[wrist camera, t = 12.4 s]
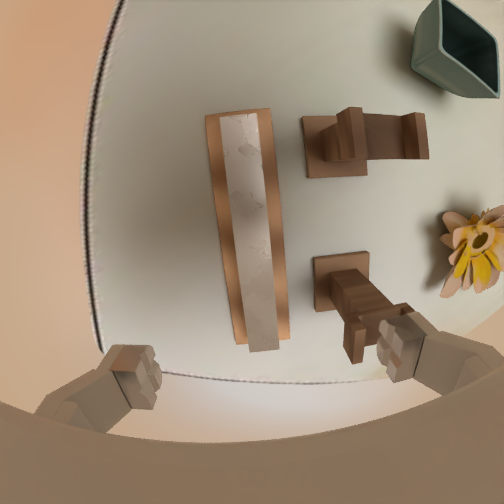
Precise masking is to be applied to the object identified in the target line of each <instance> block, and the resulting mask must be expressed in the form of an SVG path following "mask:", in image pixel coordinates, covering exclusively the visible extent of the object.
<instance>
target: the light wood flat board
mask: <svg viewBox="0 0 504 504" xmlns="http://www.w3.org/2000/svg"><path fill="white" fill-rule="evenodd" d="M253 113H257V122H258V130H259V139H260V148H261V156H262V166H263V175H264V184H265V194H266V203H267V213H268V223H269V233H270V244H271V254H272V265H273V276H274V288H275V300H276V311H277V324H278V336H279V340H286V339H290V326H289V309H288V293H287V279H286V265H285V252H284V240H283V228H282V216H281V205H280V195H279V185H278V175H277V165H276V156H275V147H274V138H273V130H272V121H271V113H270V108H264V109H253V110H243V111H234V112H226V113H219V114H212V115H205V121H206V130H207V139H208V148H209V157H210V166H211V174H212V182H213V190H214V198H215V205H216V213H217V220H218V228H219V235H220V242H221V249H222V256H223V263H224V269H225V276H226V283H227V289H228V295H229V302H230V308H231V314H232V320H233V326H234V332H235V338H236V344H237V345H239V344H248V337H247V330H246V323H245V316H244V309H243V302H242V295H241V287H240V280H239V272H238V265H237V257H236V250H235V242H234V234H233V227H232V219H231V211H230V203H229V194H228V186H227V178H226V169H225V161H224V152H223V143H222V135H221V126H220V117H226V116H234V115H243V114H253Z"/></svg>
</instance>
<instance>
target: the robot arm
mask: <svg viewBox="0 0 504 504" xmlns="http://www.w3.org/2000/svg"><path fill="white" fill-rule="evenodd" d="M379 331H380V333H381V334H382V335H381V336H380V338H379V339H378V340H377V347H376V348H377V356H378V359H379V361H380V362H381V364H382V365H385V366H387V370H386V372H387V374H388V375H389V377H390V379H391V380H392V382H393V383H396V382H400V381H403V380H407V379H410V378H413V377H414V379H415V380H417V381H418V382H420V383H422V384H424V385H425V386H427V387H429V388H431V389H432V390H434V391H436V392H437V393H439V394H441V395H443V396H441V397H439V398H437V399H434V400H432V401H429V402H427V403H424V404H422V405H419V406H416V407H414V408H411V409H408V410H405V411H402V412H399V413H396V414H393V415H390V416H387V417H383V418H380V419H377V420H373V421H369V422H366V423H362V424H358V425H354V426H350V427H345V428H341V429H336V430H331V431H326V432H321V433H316V434H310V435H304V436H297V437H291V438H282V439H273V440H262V441H248V442H228V443H227V442H225V443H196V442H194V443H193V442H173V441H159V440H150V439H141V438H133V437H126V436H120V435H114V434H107V433H106V432H107V431H109V430H110V429H111V428H112V427H113V426H114V425H115V424H116V423H117V422H118V421H120V420H121V419H122V418H123V417H124V416H125V415H126V414H127V413H129V412H130V411H131V409H146V410H152V409H153V407H154V404H155V401H156V398H157V396H156V394H155V392H156V391H157V390H158V389H160V386H161V383H162V373H161V369H160V366H159V364H158V363H157V362H156V361H155V360H154V357H155V352H154V349H153V347H152V346H150V345H125V344H115V345H112V346H111V348H110V349H109V351H108V352H107V354H106V356H105V357H104V359H103V360H102V362H101V363H100V365H99V366H98V368H97V369H96V370H95V369H93V370H91V371H89V372H87V373H86V374H84V375H82V376H80V377H78V378H77V379H75V380H73V381H71V382H70V383H68V384H66V385H64V386H62V387H60V388H59V389H57V390H55V391H53V392H51V393H50V394H48V395H46V397H45V398H44V400H43V401H42V403H41V404H40V406H39V407H38V409H37V410H36V411H35V413H34V414H31V413H29V412H26V411H23V410H21V409H18V408H16V407H13V406H11V405H8V404H6V403H3V402H1V401H0V504H504V357H503V356H502V355H501V354H500V353H499V352H498V351H497V350H496V349H495V348H494V347H493V346H490V345H486V344H483V343H480V342H477V341H473V340H470V339H467V338H463V337H460V336H457V335H454V334H450V333H447V332H444V331H441V332H439V331H438V330H437V329H436V328H435V327H434V326H433V325H432V324H431V323H430V322H429V321H428V320H426V319H425V318H424V317H423V316H422V315H421V314H420V313H419V312H416V311H415V312H412V313H408V314H405V315H402V316H398V317H394V318H389V319H385V320H381V322H380V326H379Z"/></svg>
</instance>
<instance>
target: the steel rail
mask: <svg viewBox="0 0 504 504" xmlns="http://www.w3.org/2000/svg"><path fill="white" fill-rule="evenodd" d="M220 126H221V135H222V143H223V152H224V161H225V169H226V178H227V186H228V194H229V203H230V211H231V219H232V227H233V234H234V242H235V250H236V257H237V265H238V272H239V280H240V287H241V295H242V302H243V309H244V316H245V323H246V330H247V337H248V344H249V351H250V352H259V351H269V350H277V349H279V336H278V324H277V311H276V300H275V288H274V276H273V265H272V254H271V244H270V233H269V223H268V213H267V203H266V194H265V184H264V175H263V166H262V156H261V148H260V139H259V130H258V122H257V113H253V114H243V115H234V116H226V117H220Z"/></svg>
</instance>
